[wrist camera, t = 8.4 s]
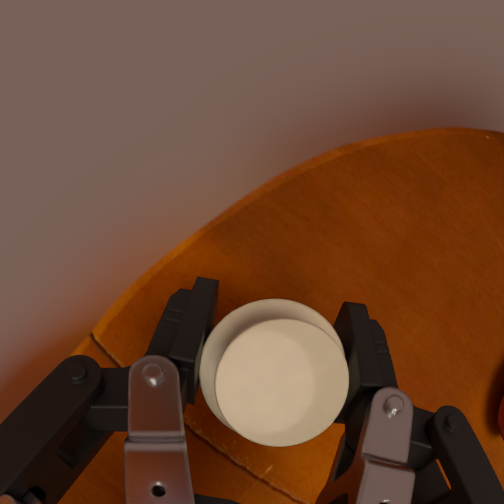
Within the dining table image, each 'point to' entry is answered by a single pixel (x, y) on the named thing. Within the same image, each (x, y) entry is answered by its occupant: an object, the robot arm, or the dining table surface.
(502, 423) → the fruit
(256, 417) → the small white bottle
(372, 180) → the dining table surface
